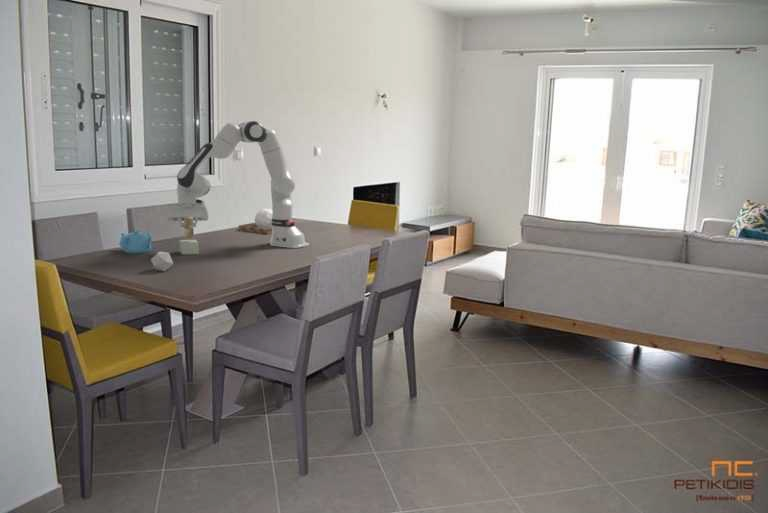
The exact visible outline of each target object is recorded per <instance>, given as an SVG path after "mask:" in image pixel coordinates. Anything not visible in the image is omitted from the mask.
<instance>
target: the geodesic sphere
mask: <svg viewBox="0 0 768 513" xmlns="http://www.w3.org/2000/svg"><path fill="white" fill-rule="evenodd" d="M271 221H272V209H270V208H269V207H265V208H262V209H259V210H258V211H257V212H256V214H255V218H254V223H256V226H257V227H259V228H266V229H270V228H272V222H271Z"/></svg>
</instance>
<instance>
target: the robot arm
mask: <svg viewBox="0 0 768 513" xmlns="http://www.w3.org/2000/svg"><path fill="white" fill-rule="evenodd" d="M240 142H244V143H257V144H258V146H259V147H260V151H261V154H262V157H263V160H264V163H265V167H266V169H267V170H268V174H269V176H270V192H271V193H270V194H271V206H272V209H271V210H272V221H271V222H272V233H271V234H270V240H269V244H270V246H271V247H282V248H289V249H290V248H291V249H299V248H304V247H305V248H306V247H308V246H309V245H310V243H309V242H306V241H305V240H306V239H305V235H304V233H303V232H302V231H301V230H300V229H299V228H298V227H296V223H297V220H294V219H293V202H292V200H293V199H292V193H293V192H294V190H295V188H296V183H295V181H294V178H293V174H292V172H291V170H290V168H289V165H288V163H287V160H286V157H285V154H284V153H285V152H284V150H283V147H282V143H281V142H280V139H279V137H278V135H277V133H276V131H275V130H274V129H270V128H269V129H267V128H266V127H264V126H263V125H262V123H261V122H258V121H257V120H256V121H255V120H253V121H252V120H249V121H245V122H242V123H240V124H235V123H234V122H233V123H232V122H227V123H226V124H224V126H223V127H222V128H221V129H220V130H219V132H218V133H217V134H216V136H215V138H214V139H213V140H212V141H211V142H208V143H205V144H204V145H202V146H201V148H199V150H198V151H197V152H196V153H195V154H194V155H193V157H191V159H190V160H189V161H188V163H187V164H186V165H184V166H183V167H182V168H181V169H180V170H179V171H178V173H177V176H176V180H177V184H176V194H177V204H168V205H166V207H165V210H166V211H165V212H166V219H167V221H169V222H178V224H179V225H180V228H184V221H183V217H193V228H196V227H197V225H198V224H197V223H199V221H200V222H201V221H204V222H205V221H208V220H209V211H208V208H207V206H206V204H205V201H204V200H202V199H198V198H202V197H204V196H206V195H207V194H208V193H209V192H210V190H211V182H210V180H208V179H207V178H206V177H204V176H203V175H201V174H200V173H198V172H197V170H199V168H200V167H201V166H202V164H203V163H204V162H205V161H206V160H207V159H209V158H215V159H222V160H223V159H227V158H229V157H230V156H231V155H232V153H233V152H234V150H235V148H236V147H237V145H238V144H239V143H240Z"/></svg>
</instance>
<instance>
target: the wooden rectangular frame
mask: <svg viewBox="0 0 768 513" xmlns="http://www.w3.org/2000/svg"><path fill="white" fill-rule="evenodd" d="M237 228H238V229H237V230H238V231H240V232H241V231H243V232H250V233H257V234H263V235H271V233H272V228H270V229H266V228H259V227H257V226H256V223H255V222H251V223H249V222H248V223H244V224H238V225H237Z"/></svg>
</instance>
